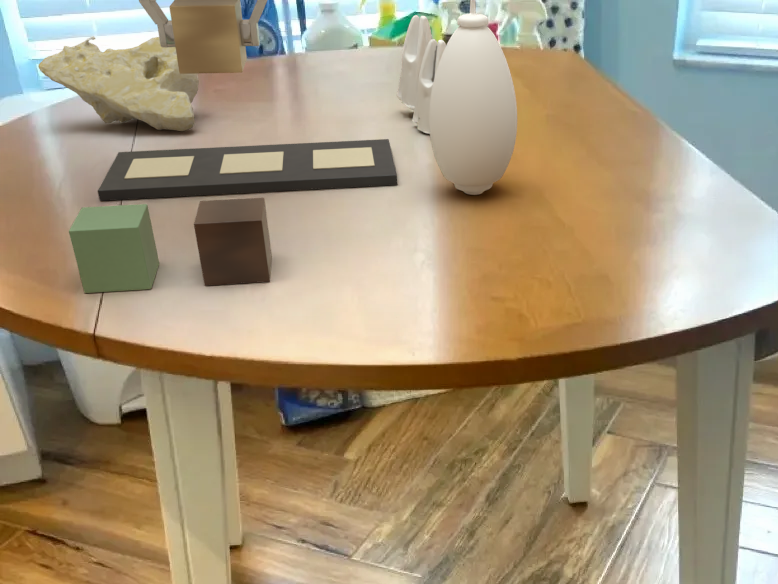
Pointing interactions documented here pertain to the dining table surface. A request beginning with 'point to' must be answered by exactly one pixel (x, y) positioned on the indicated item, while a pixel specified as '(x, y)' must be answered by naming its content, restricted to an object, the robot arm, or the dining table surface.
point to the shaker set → (419, 70)
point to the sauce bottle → (473, 107)
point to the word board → (249, 169)
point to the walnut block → (233, 241)
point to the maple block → (208, 36)
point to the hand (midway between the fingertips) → (210, 45)
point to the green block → (114, 248)
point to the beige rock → (128, 82)
